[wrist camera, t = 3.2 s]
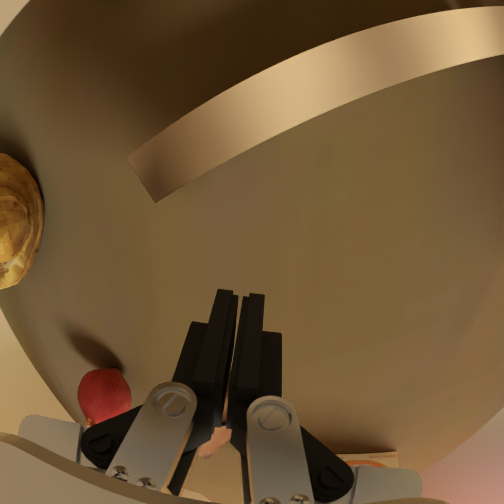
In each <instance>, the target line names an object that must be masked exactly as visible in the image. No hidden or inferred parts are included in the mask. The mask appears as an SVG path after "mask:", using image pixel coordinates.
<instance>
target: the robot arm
mask: <svg viewBox="0 0 504 504" xmlns="http://www.w3.org/2000/svg"><path fill="white" fill-rule="evenodd" d="M264 298H265V295H263V294H254V293H250V294H249V297H246V296H243V300H242V307H241V313H240V319H239V325H238V332H237V338H236V344H235V350H234V357H233V363H232V369H231V376H230V383H229V392H228V405H227V418H226V429H232V431H231V440H230V443H231V444H232V445H233V446H234V447H235V448H236V449H237V450H238V451H239V461H240V476H241V490H242V503H243V504H449V503H447V502H444V501H441V500H437V499H431V498H421V492H422V480H421V477H420V476H419V474H418V473H417V472H415V471H414V470H411V469H401V468H386V467H374V466H365V465H359V466H358V467H357V466H350V465H348V464H347V463H346V462H344V461H343V460H342V459H341V458H339V457H338V456H337V455H335V454H334V453H333V452H332V451H330V450H329V449H328V448H327V447H325V446H324V445H323V444H322V443H321V442H319V441H318V440H317V439H316V438H315V437H313V436H312V435H311V434H310V433H309V432H307V431H306V430H305V429H304V428H303V427H302V426H300V425H299V420H298V415H297V412H296V410H295V408H294V406H293V405H292V404H291V403H290V402H288V401H287V400H285V399H284V398H282V334H281V333H277V332H267V331H262V329H263V314H264ZM237 307H238V295H233V291H231V290H223V289H218V290H217V294H216V297H215V301H214V304H213V308H212V311H211V315H210V318H209V322H208V324H207V323H200V322H194V321H192V323H191V325H190V328H189V331H188V334H187V337H186V339H185V342H184V345H183V349H182V352H181V355H180V358H179V361H178V364H177V367H176V370H175V373H174V376H173V379H172V382H165V383H162V384H159V385H158V386H156V387H155V388H153V390H152V391H151V392H150V393H149V395H148V397H147V399H146V400H145V402H144V404H143V405H140V406H138V407H136V408H134V409H131V410H129V411H127V412H124V413H122V414H120V415H117V416H115V417H112V418H110V419H107V420H105V421H102V422H100V423H97V424H95V425H92V426H91V427H85V426H82V425H81V424H79V423H73V422H68V421H62V420H57V419H53V418H48V417H44V416H39V415H29V416H27V417H25V418H24V419H23V420H22V422H21V424H20V427H19V431H18V436H16V435H13V434H8V433H4V432H0V504H219V503H212V502H205V501H199V500H193V499H189V498H184V497H181V496H182V494H183V491H184V489H185V486H186V484H187V481H188V479H189V476H190V474H191V471H192V469H193V466H194V463H195V461H196V458H197V456H198V453H199V451H200V448H201V445H203V444H204V443H206V442H208V441H210V440H211V436H212V434H214V430H215V427H218V428H221V424H222V418H223V412H224V405H225V399H226V393H227V387H228V381H229V375H230V368H231V362H232V356H233V349H234V339H235V329H236V318H237Z"/></svg>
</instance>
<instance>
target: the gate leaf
mask: <svg viewBox="0 0 504 504" xmlns="http://www.w3.org/2000/svg"><path fill="white" fill-rule="evenodd" d="M502 54H504V6H490V7H476V8H465V9H457V10H449V11H443V12H437V13H431V14H426V15H420V16H416V17H411V18H407V19H402V20H398V21H394V22H390V23H387V24H383V25H379V26H376V27H372V28H369V29H366V30H363V31H359V32H356V33H353V34H350V35H347V36H344V37H342V38H339V39H336V40H333V41H331V42H328V43H325V44H323V45H320V46H318V47H315V48H313V49H310V50H308V51H305V52H303V53H301V54H298V55H296V56H294V57H291V58H289V59H287V60H285V61H282V62H280V63H278V64H276V65H274V66H272V67H270V68H268V69H266V70H264V71H262V72H260V73H258V74H256V75H254V76H252V77H250V78H248V79H246V80H244V81H242V82H240V83H239V84H237V85H235V86H233V87H231V88H230V89H228V90H226V91H224V92H222V93H221V94H219V95H217V96H216V97H214V98H212V99H211V100H209V101H207V102H206V103H204V104H202V105H201V106H199V107H197V108H196V109H194V110H193V111H191V112H189V113H188V114H186V115H185V116H183V117H182V118H180V119H179V120H177V121H176V122H174V123H173V124H171V125H170V126H168V127H167V128H165V129H164V130H163V131H161V132H160V133H158V134H157V135H156V136H154V137H153V138H151V139H150V140H149V141H147V142H146V143H145V144H143V145H142V146H141V147H139V148H138V149H137V150H135V151H134V152H133V153H131V154H130V155H129V156H128V157H126V158H127V160H128V162H129V163H130V165H131V166H132V168H133V169H134V171H135V173H136V174H137V176H138V177H139V179H140V181H141V182H142V184H143V185H144V187H145V188H146V190H147V191H148V193H149V194H150V196H151V198H152V199H153V201H154V202H155V203H156V202H158V201H159V200H161V199H163V198H164V197H166V196H167V195H169V194H171V193H172V192H174V191H176V190H177V189H179V188H180V187H182V186H184V185H185V184H187V183H189V182H190V181H192V180H194V179H196V178H197V177H199V176H201V175H202V174H204V173H206V172H208V171H209V170H211V169H213V168H215V167H216V166H218V165H220V164H222V163H224V162H225V161H227V160H229V159H231V158H233V157H235V156H236V155H238V154H240V153H242V152H244V151H246V150H248V149H250V148H252V147H253V146H255V145H257V144H259V143H261V142H263V141H265V140H267V139H269V138H271V137H273V136H275V135H277V134H279V133H281V132H283V131H285V130H287V129H290V128H292V127H294V126H296V125H298V124H300V123H302V122H304V121H307V120H309V119H311V118H313V117H315V116H318V115H320V114H322V113H325V112H327V111H329V110H331V109H334V108H336V107H338V106H341V105H343V104H346V103H348V102H350V101H353V100H355V99H358V98H360V97H363V96H366V95H368V94H371V93H373V92H376V91H379V90H381V89H384V88H387V87H389V86H392V85H395V84H398V83H401V82H404V81H407V80H410V79H413V78H416V77H419V76H422V75H425V74H428V73H431V72H435V71H438V70H441V69H445V68H448V67H452V66H456V65H459V64H463V63H467V62H471V61H475V60H479V59H483V58H488V57H492V56H497V55H502Z"/></svg>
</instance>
